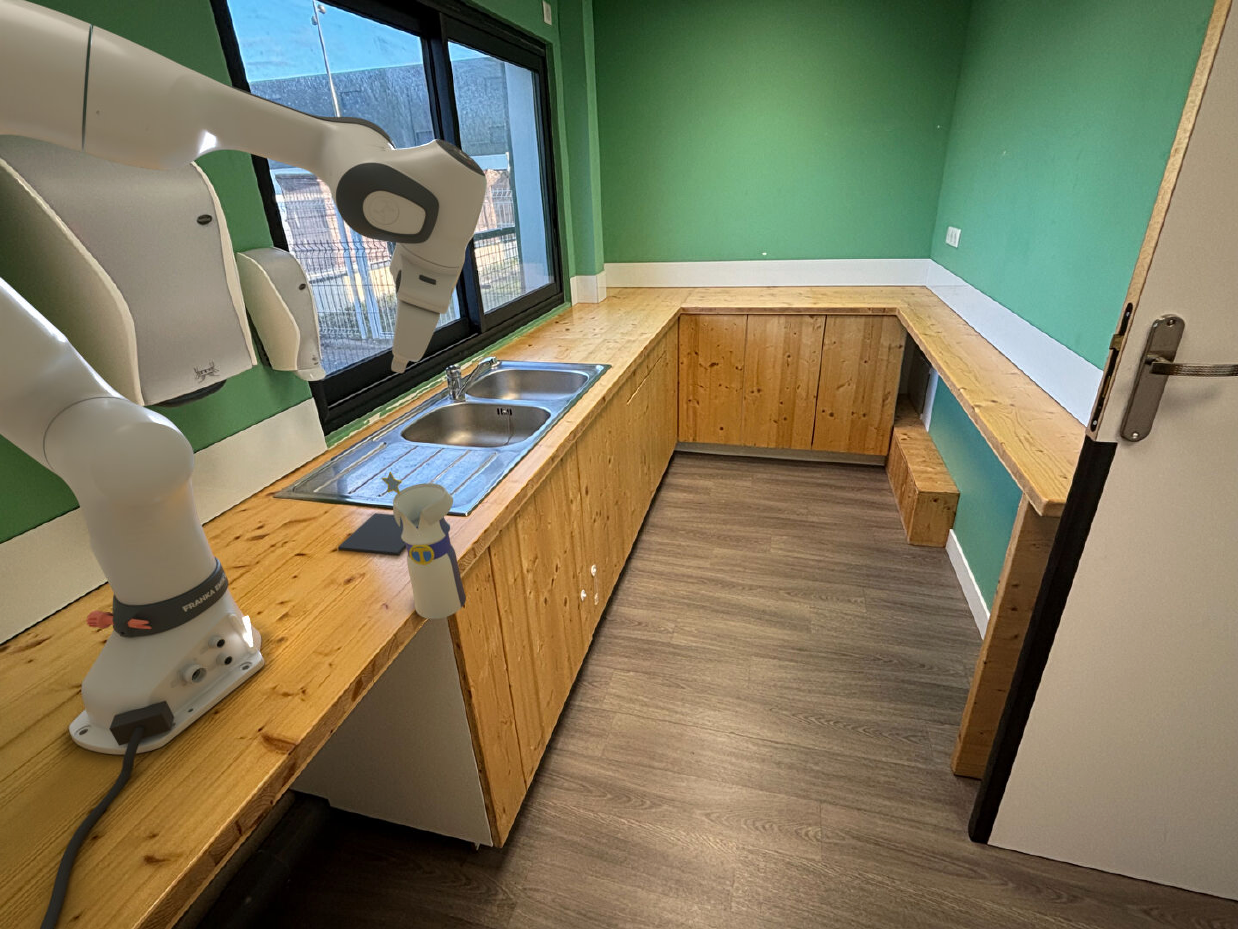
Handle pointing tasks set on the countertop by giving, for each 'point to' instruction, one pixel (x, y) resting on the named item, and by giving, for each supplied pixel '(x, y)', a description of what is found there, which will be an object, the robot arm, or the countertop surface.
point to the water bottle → (428, 547)
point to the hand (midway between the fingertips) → (398, 352)
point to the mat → (377, 536)
